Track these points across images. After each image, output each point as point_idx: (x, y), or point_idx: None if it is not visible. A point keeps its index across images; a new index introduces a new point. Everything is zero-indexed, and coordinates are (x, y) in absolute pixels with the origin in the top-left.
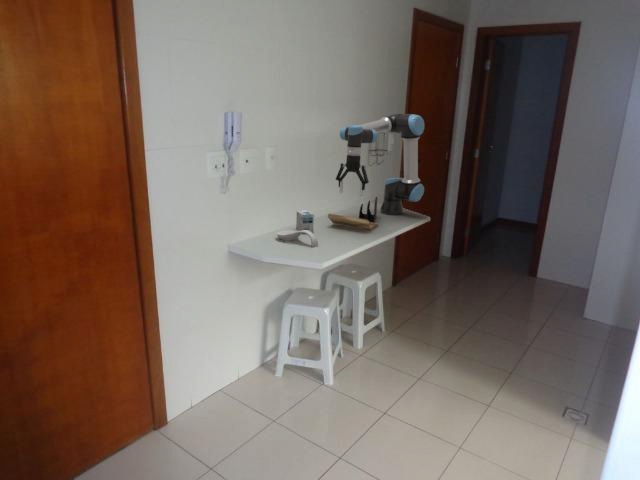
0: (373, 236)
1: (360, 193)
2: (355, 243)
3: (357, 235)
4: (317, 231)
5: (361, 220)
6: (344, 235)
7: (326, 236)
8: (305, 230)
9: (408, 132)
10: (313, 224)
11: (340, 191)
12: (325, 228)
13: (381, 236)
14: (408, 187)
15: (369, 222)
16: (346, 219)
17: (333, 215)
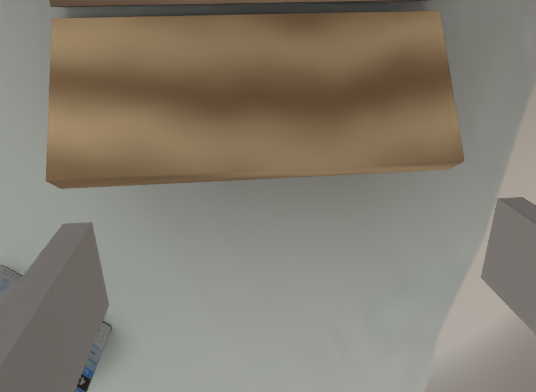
0: (466, 162)
1: (522, 307)
2: (402, 341)
3: (365, 205)
4: (106, 281)
5: (399, 168)
6: (293, 254)
7: (213, 331)
8: None
9: None
10: (95, 369)
11: (90, 331)
12: (99, 187)
13: (516, 129)
14: None
15: (454, 109)
16: (255, 178)
17: (110, 181)
